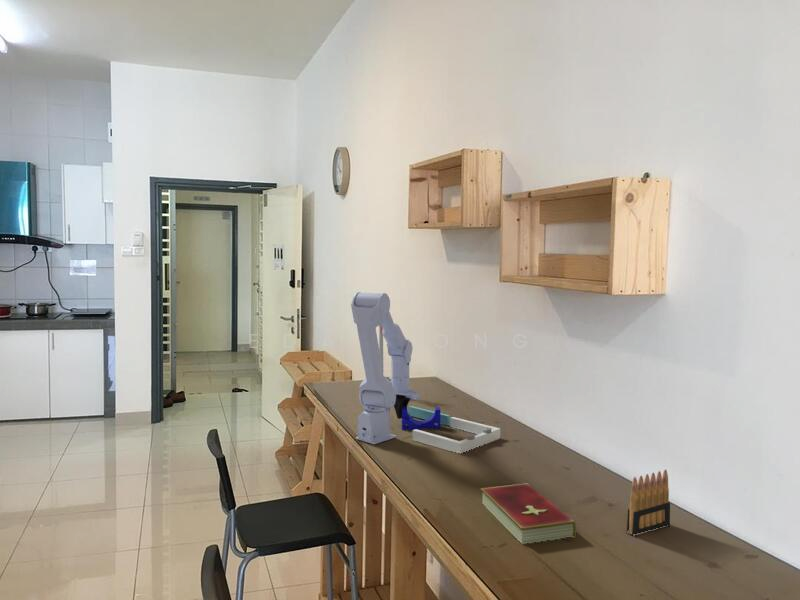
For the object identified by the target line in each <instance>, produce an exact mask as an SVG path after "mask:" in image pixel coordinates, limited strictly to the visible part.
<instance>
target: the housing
mask: <svg viewBox="0 0 800 600" xmlns="http://www.w3.org/2000/svg"><path fill="white" fill-rule="evenodd" d="M449 427H450V428H451V427H453V428H452V429H455V428H457V429H456V430H459V429H461V430H460V431H463V430H464V431H463V432H466V433H470V432H471V433H470V434H466V435H465V436H466V437H465V439H462V440H457V439H454V438H449V437H446V436H442V435H439V434H435V433H431V432H427V431H424V430H422V429H421V430H417V429H415V430H412V441H415V442H417V441H418V443H422V444H425V445H429V446H432V447H434V448H438V449H441V450H444V451H449V452H451V451H452V453H455V452H456V453H455V454H458V453H460V454H459V455H462V454H464V453H463V452H465V453H467V452H470V451H472V450H474V448H475V449H477V448H479V446H480V447H482V446H485V445H487V444H490V443H492V442H495V441H497V440H499V439H501V428H500V427H496V426H492V425H489V424H483V423H479V422H475V421H471V420H467V419H463V418H459V417H455V416H452V417H450V425H449ZM474 433H475V434H474ZM484 444H485V445H484ZM476 447H477V448H476ZM471 449H472V450H471ZM469 450H470V451H469ZM466 451H467V452H466ZM461 453H462V454H461Z"/></svg>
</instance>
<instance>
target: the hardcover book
mask: <svg viewBox="0 0 800 600" xmlns="http://www.w3.org/2000/svg"><path fill="white" fill-rule="evenodd" d="M480 492H481V493H482V505H483V504H484V505H483V506H484V507H485V506H486V507H485V508H486V509H487V510H488V511H489V512H490V513H491V514H492V515H493V516H494V517H495V518H496V519H497V520H498V521H499V522H500V524H502V525H503V526H504V527H505V529H507V530H508V531H509V533H510V534H511V535H512V536H513V537H515V539H516V538H517V539H516V541H520V542H521V543H522V545H527V543H529V544H535V543H534V542H536V543H541V541H543V542H548V541H547V540H550V541H556V540H555V539H557V540H561V539H560V538H564V537H569V536H574V537H575V538H576V536H577V524H576V522H575V521H574V520H573V519H572V518H571V517H570V516H568V514H566V513H564V512H563V510H561V509H560V508H559V507H557V506H556V505H555V504H553V502H551V501H550V500H548V498H546V497H545V496H544V495H543V494H541V493H540V492H539V491H537V490H536V489H535V488H534V487H533V486H531V485H530V484H529V483H528V482H525V483H515V484H509V485H506V484H505V485H500V486H489V487H483V488H481V487H480ZM564 539H565V538H564ZM520 542H519V543H520ZM521 543H520V544H521Z"/></svg>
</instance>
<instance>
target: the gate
mask: <svg viewBox="0 0 800 600" xmlns="http://www.w3.org/2000/svg"><path fill="white" fill-rule="evenodd" d="M407 410H408V413H409V415H410V416H411V417H412V418H413V417H414V418H418V419H420V420H424V421H425V420H428V419H429V418H431V417H432V416H433V414H434V412H435V410H429V409H425V408H422V407H417V406H413V405H409V406H407ZM450 418H451V415H449V414H445V413H441V412H440V425H445V426H450Z"/></svg>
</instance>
